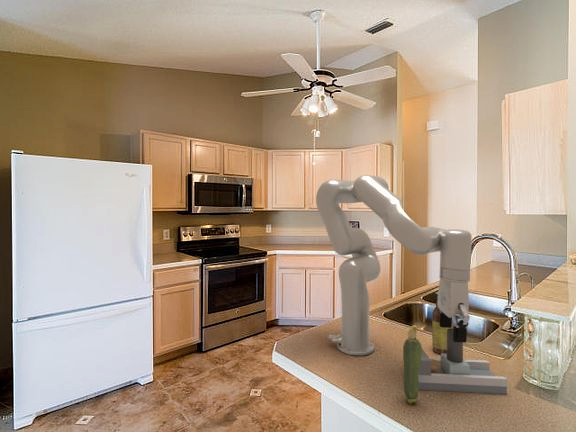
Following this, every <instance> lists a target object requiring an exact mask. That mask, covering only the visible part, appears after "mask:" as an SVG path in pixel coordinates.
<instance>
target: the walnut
mask: <svg viewBox="0 0 576 432" xmlns="http://www.w3.org/2000/svg"><path fill="white" fill-rule="evenodd" d="M430 360H431V373H436V374H441V362H440V361H438V360H435V359H430Z"/></svg>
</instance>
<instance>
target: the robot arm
mask: <svg viewBox="0 0 576 432" xmlns="http://www.w3.org/2000/svg"><path fill="white" fill-rule="evenodd" d="M389 188H390V187H389V184H388V182H387V181H386V180H385V179H384V178H383V177H381V176H376V175H369V174H365V175H364V174H363V175H360V176H358V177H357V178H356V179H355V180H343V179H329V180H325V181H324V182H322V183H321V184H320V185H319V187H318V189H317V192H316V194H315V195H316V196H315V205H316V207H317V211H318V213H319V215H320V218H321V220H322V221H323V225H324V227H325V230H326V233H327V235H328V238H329V241H330V243H331V246H332V248H333V251H334V252H335V253H336V255H339V256H350V255H351V257H350V258H348V259H345V260H344V261H343V262H342V263H340V265H339V268H338V279H339V284H340V285H339V286H340V293H341V294H340V296H341V297H340V298H341V330H340V332H339V333H337V334H332V333H331V334H328V341H332V343H334V344H335V343H337V344H336V346H337V349H338V350H339V351H340V352H342V353H344V354H347V355H350V356H354V357H355V356H356V357H357V356H359V357H361V356H368V355H370V354H372V353H373V352H374V350H375V345H374V344H373V342H372V341H370V294H369V290H368V288H367V287H368V286H367V283H369V282H371V281H374V280H375V279H377V278H379V276H380V273H381V269H382V268H381V263H380V260H379V258H378V255H377V253H376V251H375V248H374V246H373V243H372V241H371V238H370V236H369V235H368V233H367V232H366V231H365V230H363V229H362V228H359V227H352V226H351V225H350V221H349V220H348V217H347V215H346V213H345V212H344V210H343V209H342V208H341V207H340V204H357V203H363V204H364V205H365V206H366V207H368V208H369V209H370V210H371V211H372V212H373V213H374V214H376V215H377V216H378V217H379V218H380V219H381V220H382V222H383V224H384V226H385V228H386V229H387V231H388V232H389V234H390V235H391V236H392V237H393V238H394V239H395V240H396V241H397V242H398V243H399V244H401V246H402V247H404V248H405V249H406V250H408V251H409V252H410V253H413V254H415V255H418V256H424V255H427V254H430V253H436V252H440V253H439V283H438V290H437V292H438V301H437V306H438V308H439V309H440V327H444V328H451V326H452V320H453V323H454V326H453V341H454V342H463V344H464V343H467V337H468V335H467V334H468V329H469V327H468V326H469V324H470V323H469V321H470V318H471V317H470V314H469V310H470V309H469V306H470V305H469V303H470V302H469V300H470V299H469V298H470V297H469V282H470V281H471V260H472V258H471V257H472V240H473V238H472V233H471V232H470V231H468V230H464V229H451V228H450V229H445V228H439V227H436V226H426V227H422V226H420V225H419V224H417V222H415V221H414V219H412V218H411V217H410V216H409V215H408V214H407V213H406V212H405V211H404V207H403V200H402V199H401V198H400V197H399V196H398V195H396V194H395V193H394V192H393V191H391V190H390V189H389Z"/></svg>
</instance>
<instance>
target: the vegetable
mask: <svg viewBox="0 0 576 432" xmlns="http://www.w3.org/2000/svg"><path fill="white" fill-rule="evenodd" d="M417 332H419V329H418V325H417V324H413V325H411V326H410V328H409V329H408V331H407V336H408V337H407V338H406V339H405V341H404V343H403V346H402V347H403V348H402V350H403V351H402V353H403V356H402V357H403V382H402V385H403V392H404V396H405V397H406V399H407V402H408V403H409V405H412V404H411V403H416V402H417V400H418V397H419V390H418V387H419V378H418V375H419V367H420V362H421V356H422V349H423V347H422V343H421V342H420V341H419V339H418V338H417Z"/></svg>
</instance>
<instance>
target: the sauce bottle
mask: <svg viewBox="0 0 576 432" xmlns="http://www.w3.org/2000/svg"><path fill="white" fill-rule="evenodd" d="M434 295H435V307H434V309H433V310H432V315H431V316H432V320H431V321H432V322H431V326H432V328H431V329H432V330H431V331H432V332H431V333H432V337H431V338H432V350H433V351H434V352H435V353H437V354H439V355H441V353H442V354H447V329H451V328H452V329H453V323H454V319H452V326H451V328H444V327H440V309H439V308H438V306H437V301H438V291H436V292H435V294H434Z"/></svg>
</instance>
